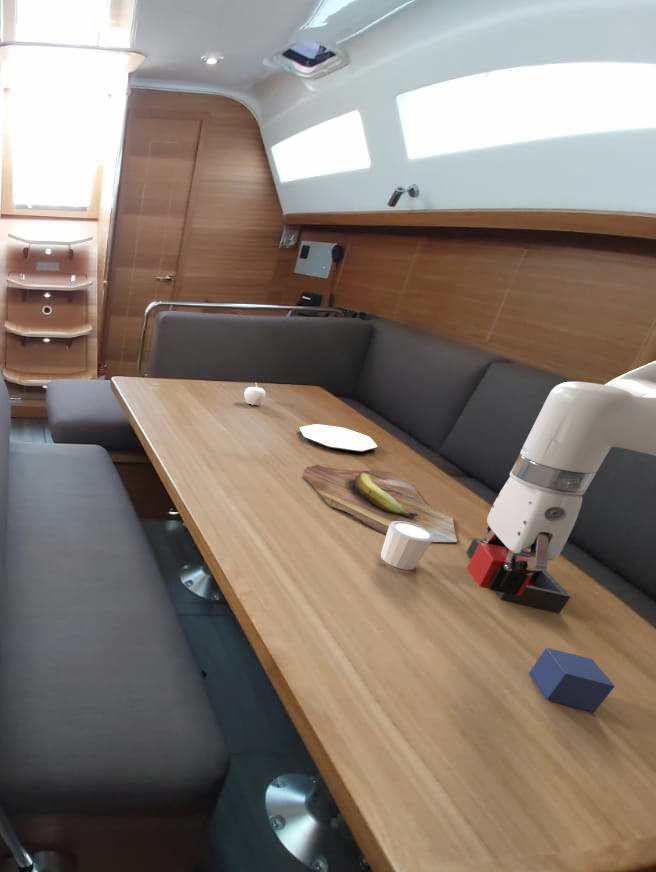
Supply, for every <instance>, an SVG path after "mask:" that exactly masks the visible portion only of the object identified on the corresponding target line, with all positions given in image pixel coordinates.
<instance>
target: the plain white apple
mask: <svg viewBox="0 0 656 872" xmlns="http://www.w3.org/2000/svg"><path fill="white" fill-rule="evenodd" d="M243 394H244V395H243V396H244V400H245V403H246V404H248V405H249V404H251V405H250V406H254V405H257V406H259V405H260V404H261V403H262V402H263V401H264V400H265V398H266V396H267V393H266V390H265V389H264V388H262V387H258V383H257V382H255V386H249V387H247V388H246V389H245V390H244V393H243Z"/></svg>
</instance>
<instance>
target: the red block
mask: <svg viewBox="0 0 656 872" xmlns="http://www.w3.org/2000/svg"><path fill="white" fill-rule="evenodd" d="M508 551H509V549H508V548H507V547H503V546H498V545H492V544H487V543H482V542H480V543H479V545H478V547H477V549H476V551H475V553H474V555H473V557H472V559H471V558H470V561H469V563H468V565H467V567H466V569H467V572H469V574H470V576H471V577H472V578H473V580H474V581H475V583H476V584H477V586H478V587H479V588H484V589H487V590H491V589H490V588H489V585H490V583H491V581H492V579H493V577H494V575H495V574H496V572H497V570H498V568H499V566H502V567H504V564H505V560H506V557H507V554H508ZM526 559H527V557H524V556H519V555H517V558H516V561H515V562H518V561H526ZM533 574H534V572H533V573H532V575H533ZM532 575H528V576H527V578H526V580H525V582H524V583H523V585H522V587H521V589H520V590H519V592H518V594H516V595H522V593H523V591H524V589H525V588H526V586H527V584H528V582H529V581H530V579H531V577H532Z"/></svg>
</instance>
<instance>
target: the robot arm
mask: <svg viewBox="0 0 656 872" xmlns="http://www.w3.org/2000/svg"><path fill="white" fill-rule="evenodd" d="M539 411H540V412H539V414H538V415H537V417H536V419H535V421H534V423H533V425H532V428H531V429H530V432H529V433H528V435H527V438H526V439H525V441H524V443H523V445H522V448H521V450H520V452H519V453H518V456H517V457H516V459H515V461H514V464H513V466H512V468H511V470H510V471H509V477H508V479H507V480H506V482H505V483H504V485H503V487H502V488H501V489H500V492H499V493H498V495H497V497H496V498H495V501H494V502H493V504H492V506H491V507H490V510H489V513H488V515H487V518H486V522H487V525H488V526H487V527H486V531H487V534H486V535H485V536H484V538H483V543H487V544H492V545H498V546H503V547H507V548H508V549H509V551H508V554H507V557H506V560H505V564H504V567H502V566H499V568H498V570H497V572H496V574H495V575H494V577H493V579H492V581H491V583H490V585H489V588H490V589H489V590H490V591H493V592H495V591H497V592H502V593H507V594H511V595H516V594H518V592H519V590H520V589H521V587H522V585H523V583H524V582H525V580H526V578H527V576H528V575H532V573H533V572H536V571H543V570H546V571H547V569H548V564H549V563H548V561H555V560H557V559H558V558H559V556H560V555H561V553H562V551H563V549H564V547H565V545H566V543H567V541H568V539H569V537H570V535H571V532H572V531H573V529H574V526H575V524H576V522H577V519H578V516H579V513H580V510H581V507H582V503H583V498H584V497H583V495H584V494H585V493H586V491H587V489H588V487H589V486H590V484H591V482H592V481H593V479H594V478H595V476H596V474H597V472H598V470H599V469H600V467H601V465H602V464H603V462H604V460H605V458H606V457H607V455H608V454H609V452H610V450H611V448H619V449H626V450H629V451H633V452H638V453H642V454H647V455H650V456H656V360H654V361H652V362H650V363H647V364H645V365H642V366H640V367H638V368H637V367H636V368H635V369H632V370H630V371H628V372H626V373H624V374H621V375H620V376H617V377H614V378H613V379H611V380H609V381H608V382H606V383H605V384H601V383H595V382H587V381H566V382H562V383H559V384H557V385H555V386H554V387H553V388H552V389H551V390H550V392H549V394H548V396H547V397H546V399H545V401H544V402H543V405H542V407H541V409H540V410H539ZM523 548H525V549H527V550H529V549H530V551H529V552H526V551H522V549H523ZM517 555H519V556H524V557H527V559H526V561H518V562H515V561H516V558H517Z"/></svg>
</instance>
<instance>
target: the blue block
mask: <svg viewBox="0 0 656 872" xmlns="http://www.w3.org/2000/svg"><path fill="white" fill-rule="evenodd" d="M528 673H529V675H530V676H531V678H532V680H533V681H534V683H535V684H536V686H537V687H538V689H539V690H540V691H541V693H542V694H543V696H544V698H545V699H546V700H547V701H551V702H554V703H557V704H561V705H566V706H568V707H572V708H575V709H579V710H583V711H587V712H590V713H595V712H596V711H597V710H598V709H599V707H600V706H601V705H602V704H603V702H604V701H605V700H606V699H607V697H609V695H610V694H611V692H612V691H613V690H614V688H615V687H616V686H615V685H614V683H613V682H612V681H611V680H610V678H609V677H608V676H607V674H605V673H604V671H603V670H602V669H601V667H600V666H599V665H598V664H597V663H596V662H595V661H594V659H593V658H589V657H586V656H582V655H578V654H574V653H570V652H566V651H561V650H558V649H554V648H550V647H545V648H544V650H543V651H542V652H541V654H540V656H539V657H538V659H537V660H536V662H535V663H534V665H533V666H532V668H531V669H530V670H529V672H528Z"/></svg>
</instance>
